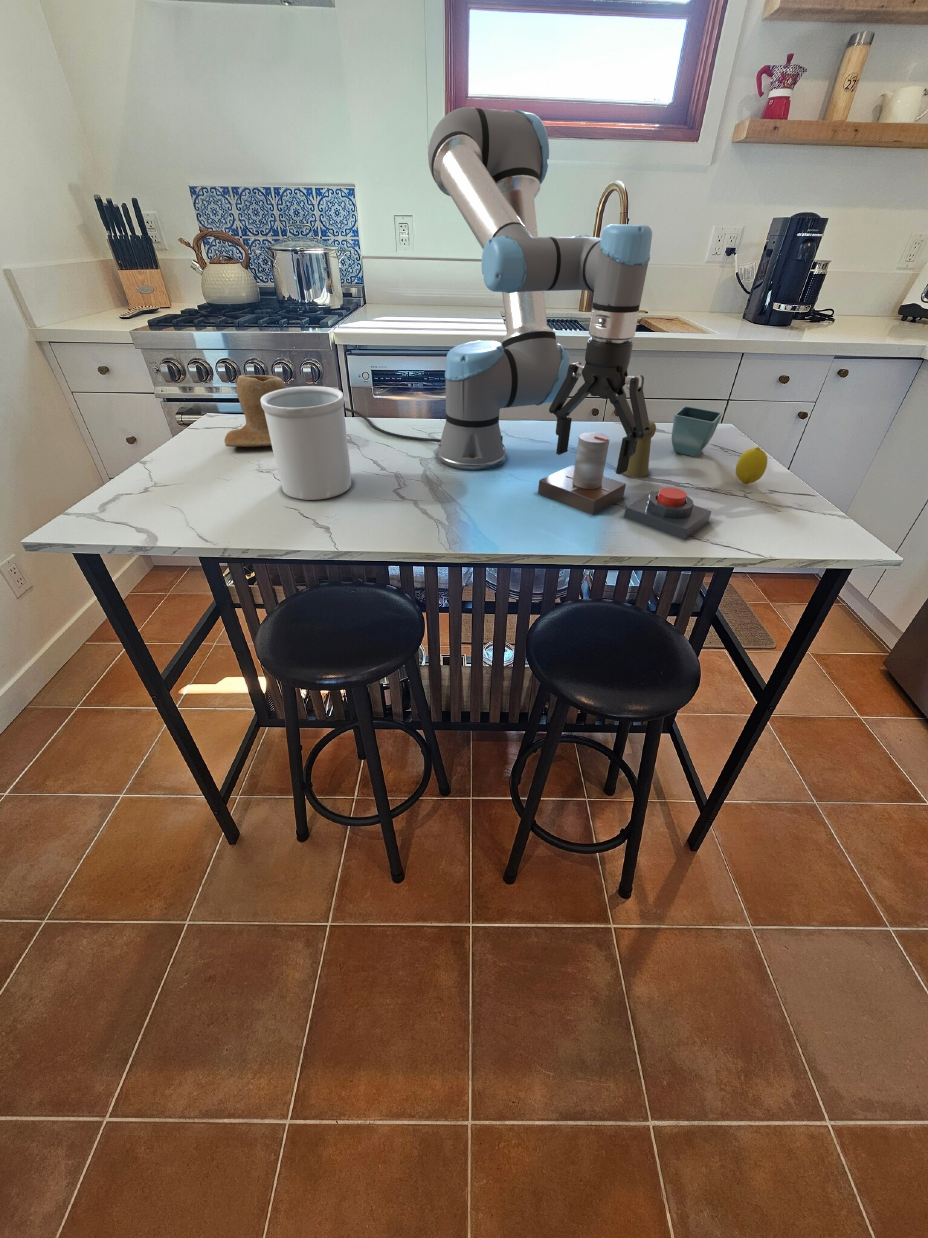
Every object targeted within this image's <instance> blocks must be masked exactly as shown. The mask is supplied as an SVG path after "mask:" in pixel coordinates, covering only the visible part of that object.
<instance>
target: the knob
mask: <svg viewBox="0 0 928 1238" xmlns="http://www.w3.org/2000/svg"><path fill="white" fill-rule="evenodd" d="M610 440H611V438H610V436H608V435H607V434H605V433H601V432H595V431H591V432H589V431H587V432H583V433H581V434H579V436H578V442H577V448H576V455H575V462H574V466H575V468H574V475H573V484H574V485H575V486H577V487H580V488H584V489H596V488H599V487H600V486H601V484H602V479H603V476H604V475H605V473H604V472H605V468H606V462H607V457H608V451H609V446H610Z"/></svg>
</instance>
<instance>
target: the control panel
mask: <svg viewBox="0 0 928 1238" xmlns="http://www.w3.org/2000/svg"><path fill="white" fill-rule="evenodd" d="M574 468H575V465H572V464H571V465H569V466H567V467H565V468H562V469H560V470H557V471H556V472H553V473H552V474H549V475H547V476H545V477H542V478H541V479H539V480H538V489H537V495H539V496H542V497H545V498H547V499H549V500H553V501H554V502H557V503H560V504H563V505H565V506H567V507H570V508H573V509H575V510H577V511H581V512H584V513H586V514H588V515H590V516H594V515H596V514H597V513H599V512H601V511H603V510H605V509H606V508H608V507H610V506H612V505H613V504H615V503H617V502H618V501H620V500H622V499H624V495H625V491H626V486H627V484H626V483H625V482H622V481H619V480H616V479H613V478H610V477H607V476H604V475H603V479H602V484H601V486H600V487H599V488H596V489H584V488H580V487H577V486H575V485H574V484H573V475H574Z"/></svg>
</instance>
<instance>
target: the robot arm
mask: <svg viewBox="0 0 928 1238" xmlns="http://www.w3.org/2000/svg"><path fill="white" fill-rule="evenodd" d="M548 136H549V135H548V132H547V129H546V127H545V123H543V121H542V119H541V118H540V117H539V116H538V115H536V114H535V113H532V112H526V111H523V110H521V109H513V110H503V109H493V108H482V107H481V108H480V107H473V106H463V107H459V108H456V109H454V110H452V111H449V112H448V113H447V114H445V116H443V118H442V119H440V120H439V121H438V123H437V124H436V126H435V128H434V129H433V131H432V134H431V137H430V140H429V145H428V151H427V161H428V167H429V170H430V171H429V172H430V174H431V177H432V179H433V181H434V182H435V184H436V186H437V187H438V189H439V190H440V191H441V192H442V193H443V194H444V195H446V196H448V197H450V198H451V200H452V201H453V203H454V204H455V206H456V208H457V209H458V211H459V213H460V214H461V216H462V217H463V220H464V221H465V222H466V224H467V226H468V228H469V230H470V231H471V232H472V234H473V236H474V237H475V239H476V241H477V242H478V244H479V245H480V247H481V249H482V252H481V253H482V254H481V262H480V263H481V264H480V265H481V266H480V267H481V273H482V275H483V282H484V284H485V286H486V288H487V289H488V290H489V291H491V292H493V293H495V292H497V293H501V294H502V303H503V311H504V319H505V327H506V329H505V330H506V335H504V337H503V339H502V340H501V342H500V341H497V340H492V339H491V340H489V339H486V340H472V341H468V342H467V341H466V342H464V343H460V344H458V345H456V346H454V347H452V348H451V349H450V350H449V351H448V352H447V353H446V358H445V371H444V378H445V424H444V427H443V429H442V430H443V431H442V434H441V436H440V437H441V438H429V437H419V436H411V435H405V434H404V435H403V434H399V433H396V432H390V431H388V430H385V429H383V428H380V427H378V426H376V425H375V424H373V422H372V421H371V419H369V418H368V417H367V416H366V415H364V414H363V413H361V412H359V411H357V410H354V409H351V408H348V407H346V406H343V407H344V411H346V412H349V413H352V414H356V415H357V416H359V417H361V418H362V419H363V420H365V421H366V422H367V423H368V425H369V426H370V427H371V428H372V429H374V430H375V431H377V432H379V433H381V434H385V435H387V436H391V437H394V438H400V439H405V440H412V441H419V442H431V443H438V446H437V459H438V461H439V462H440V463H442V464H443V465H445V466H448V467H450V468H454V469H459V470H466V471H481V470H489V469H492V468H495V467H498V466H499V465H501V464H503V463H504V462H505V460H506V448H505V444H504V443H503V440H504V439H503V438H504V436H503V435H502V432H501V427H500V411H501V409H508V408H518V407H525V406H526V407H527V406H541V405H545V404H550V406H549V408H548V412H549V413H550V414H553V415H554V416H555V417H556V427H555V435H556V436H558V437H557V444H556V452H555V454H556V455H558V456H560V455H562V454H565V453H567V452H568V450H569V442H570V436H571V435H570V434H571V429H572V428H571V427H572V420H573V418H572V417H570V415H571V413H572V412H573V411H575V409H576V408H577V407H578V406H579V405H580V404H581V403H582V402H583V401H584V400H585V399H586V398H587V397H588V396H589V395H590V396H591V397H599V398H601V399H604V400H609V402H610V404H611V405H613V407H614V410H615V413H616V414H617V417H618V419H619V421H620V424H621V425H622V428H623V430H624V432H625V434H626V436H624V437H622V440H621V444H620V449H619V455H618V460H617V465H616V470H615V474H616V475H621V474H623V472H625V471H627V469H628V464H629V459H630V457H631V456H633V455H634V454H635V451H636V447H637V442H638V438H643V437H645V436H647V435H649V434H650V433H651V430H650V425H649V420H650V419H649V416H648V410H647V409H648V408H647V405H646V400H645V393H644V384H645V376H644V375H643V374H639V375H637V376H635V375H629V374H628V368H629V365H630V362H631V356H632V352H633V346H634V342H633V340H631V339H633V338H634V337H635V336H636V331H637V330H636V329H637V325H638V320H639V319H638V318H639V313H640V306H641V302H642V298H643V291H644V287H645V283H646V278H647V271H648V268H649V263H650V260H651V257H650V256H651V246H652V239H653V230H652V228H651V227H650V226H649V225H646V224H627V223H626V224H624V223H621V224H619V223H611V224H607V225H606V226H604V228H603V230H602V235H601V237H594V236H591V235H587V234H585V235H574V236H539V234H538V224H537V214H536V205H535V198H536V197H537V196H538V194H539V193H540V192H541V191H540V190H541V185H542V184H543V183H544V181H545V178H546V176H547V172H548V168H549V164H548V160H549V159H550V143H549V137H548ZM552 291H553V292H554V291H555V292H556V291H557V292H558V291H559V292H560V291H586V292H592V293H593V300H592V304H591V312H590V321H589V329H588V335H589V336H591V337H589V338H588V339H587V341H586V348H585V355H584V361H585V364H584V365H582V362H580V361H577V362H574V363H571V360H570V354H569V351H568V350H567V348H566V346H565V345H562V344H561V343H557V338H556V337H557V336H556V335H557V334H556V331H554V329H552V328H551V327H550V326H549V325H548V321H547V311H546V302H545V301H546V300H545V292H552ZM581 377H582V378H583V381H584V383H583V384H582V385H581V386H580V387H579V388H578V389H577V391H576V393H574V395H573V396H571V398H569V397H570V395H571V393H572V391H573V389H574V388H575V386H576V384H577V383H578V381H579V378H581ZM625 385H626V389H627V390H628V394H629V400H630V405H631V407H630V405H629V402H628V399H627V394H626V391H625V389H624V386H625ZM568 398H569V400H568ZM567 400H568V401H567Z"/></svg>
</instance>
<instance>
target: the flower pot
mask: <svg viewBox="0 0 928 1238" xmlns="http://www.w3.org/2000/svg"><path fill="white" fill-rule="evenodd" d="M722 416H723V413H722V412H721V411H715V410H709V409H704V408H698V407H693V406H686V405H685V406H682V407H681V408H680V409H679V411H677V412H676V413H675V414H674V416H673V423H672V429H671V446H672V448H673V451H674V453H677V454H681V455H686V456H690V457H695V458H696V457H698V455H700V453H702V451H703V450H704V449H705V448H706V446H707V445H708V444H709V443H710V441H711V439H712V438H713V437H714V434H715V432H716V430H717V427H718V425H719V423H720V420H721V418H722Z"/></svg>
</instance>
